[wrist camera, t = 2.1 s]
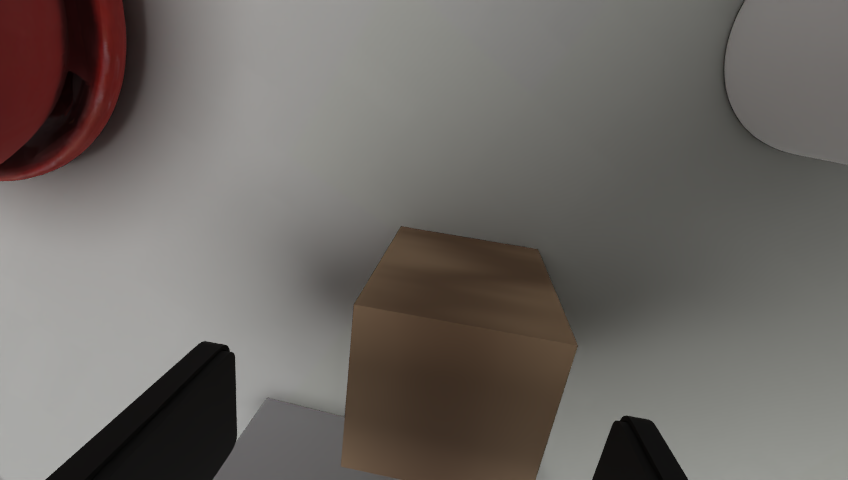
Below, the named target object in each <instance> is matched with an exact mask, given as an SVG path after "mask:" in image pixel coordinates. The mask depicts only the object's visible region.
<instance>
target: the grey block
mask: <svg viewBox="0 0 848 480" xmlns="http://www.w3.org/2000/svg"><path fill="white" fill-rule="evenodd" d="M344 420H345V417H343V416H339V415H335V414H331V413H327V412H323V411H319V410H315V409H311V408H307V407H303V406H299V405H295V404H291V403H287V402H283V401H279V400H275V399H270V398H267V399H266V400H265V402H264V403H263V404H262V406H261V407H260V409H259V410H258V412H257V413H256V414H255V416H254V417H253V419H252V420H251V421H250V423H249V424H248V426H247V427H246V428H245V430H244V431H243V433H242V434H241V436H240V437H239V438H238V440H237V441H236V443H235V446H234V448H233V450H232V452H231V454H230V455H229V456H228V458H227V459H226V461H225V462H224V464H223V465H222V467H221V468H220V470H219V471H218V473H217V474H216V476H215V477H214V479H213V480H400V479H396V478H391V477H386V476H382V475H377V474H372V473H368V472H363V471H358V470H354V469H349V468H344V467H341V457H342V445H343V432H344Z"/></svg>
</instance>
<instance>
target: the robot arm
mask: <svg viewBox="0 0 848 480" xmlns="http://www.w3.org/2000/svg"><path fill="white" fill-rule="evenodd" d="M236 439H237V417H236V376H235V355H234V353H232V352H230V350H229V347H228V346H227V345H223V344H217V343H212V342H206V341H204V342H201V343H200V344H198V345H197V346H196V347H195V348H194V349H193V350H191V351H190V352H189V353H188V354H187V355H186V356H185V357H183V358H182V359H181V360H180V361H179V362H178V363H177V364H176V365H174V366H173V367H172V368H171V369H170V370H169V371H168V372H167V373H165V374H164V375H163V376H162V377H161V378H160V379H159V380H158V381H156V382H155V383H154V384H153V385H152V386H151V387H150V388H148V389H147V390H146V391H145V392H144V393H143V394H142V395H141V396H139V397H138V398H137V399H136V400H135V401H134V402H133V403H132V404H130V405H129V406H128V407H127V408H126V409H125V410H124V411H122V412H121V413H120V414H119V415H118V416H117V417H116V418H115V419H113V420H112V421H111V422H110V423H109V424H108V425H107V426H106V427H104V428H103V429H102V430H101V431H100V432H99V433H98V434H96V435H95V436H94V437H93V438H92V439H91V440H90V441H89V442H87V443H86V444H85V445H84V446H83V447H82V448H81V449H80V450H78V451H77V452H76V453H75V454H74V455H73V456H72V457H71V458H69V459H68V460H67V461H66V462H65V463H64V464H63V465H61V466H60V467H59V468H58V469H57V470H56V471H55V472H54V473H52V474H51V475H50V476H49V477H48V478H47V479H46V480H213V479H214V477H215V476H216V474H217V473H218V471H219V470H220V468H221V467H222V465H223V464H224V462H225V461H226V459H227V458H228V456H229V455H230V454H231V452H232V450H233V448H234V446H235V443H236ZM592 480H688V478H687V477H686V475H685V473H684V472H683V470H682V469H681V467H680V465H679V464H678V462H677V460H676V459H675V457H674V455H673V454H672V452H671V450H670V449H669V447H668V445H667V444H666V442H665V440H664V439H663V437H662V436H661V434H660V432H659V431H658V429H657V427H656V426H655V424H654V423H653V422H652V421H651V420H648V419H642V418H636V417H631V416H623V417H622V418H621V420H620V421H615V422H614V423H613V425H612V427H611V430H610V433H609V435H608V438H607V441H606V444H605V446H604V449H603V452H602V455H601V457H600V460H599V463H598V465H597V468H596V471H595V474H594V476H593V479H592Z"/></svg>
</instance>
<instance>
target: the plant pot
mask: <svg viewBox="0 0 848 480" xmlns="http://www.w3.org/2000/svg"><path fill="white" fill-rule="evenodd" d="M125 62H126V25H125V17H124V9H123V3H122V0H0V181H15V180H23V179H27V178H32V177H36V176H39V175H43V174H46V173H48V172H51V171H53V170H56V169H58V168H60V167H62V166H64V165H66V164H67V163H69V162H70V161H72V160H73V159H75V158H76V157H77V156H79V155H80V154H81V153H82V152H83V151H85V150H86V149H87V148H88V147H89V146H90V145H91V144H92V142H93V141H94V140H95V139H96V138H97V136H98V135H99V134H100V133H101V131H102V130H103V128H104V127H105V125H106V124H107V122H108V120H109V118H110V116H111V114H112V112H113V110H114V108H115V106H116V103H117V100H118V97H119V93H120V90H121V87H122V83H123V78H124V71H125Z"/></svg>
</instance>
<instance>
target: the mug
mask: <svg viewBox="0 0 848 480" xmlns="http://www.w3.org/2000/svg"><path fill="white" fill-rule="evenodd" d="M724 73H725V85H726V90H727V94H728V98H729V101H730V104H731V106H732V108H733V110H734V112H735V114H736V116H737V117H738V119H739V120H740V122H741V123H742V124H743V126H744V127H745V128H746V129H747V130H748V131H749V132H750V133H751V134H752V135H754V136H755V137H756V138H758V139H759V140H760V141H762V142H764V143H765V144H767V145H769V146H771V147H773V148H776V149H778V150H781V151H784V152H787V153H791V154H795V155H800V156H805V157H810V158H815V159H820V160H825V161H830V162H835V163H840V164H845V165H848V0H745V2H744V3H743V5H742V7H741V9H740V11H739V13H738V15H737V17H736V20H735V22H734V24H733V27H732V30H731V33H730V36H729V40H728V44H727V49H726V55H725V67H724Z"/></svg>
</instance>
